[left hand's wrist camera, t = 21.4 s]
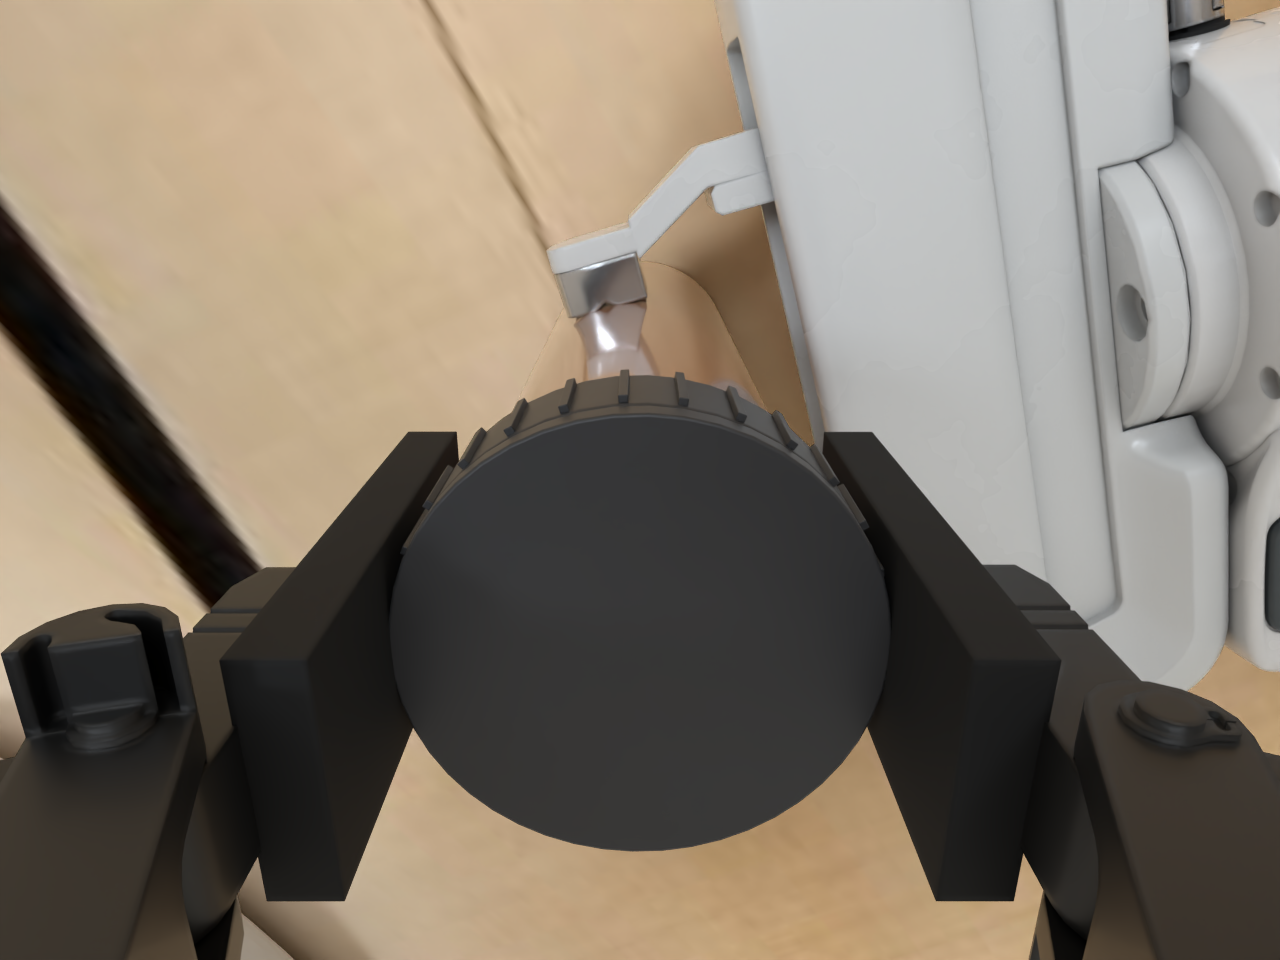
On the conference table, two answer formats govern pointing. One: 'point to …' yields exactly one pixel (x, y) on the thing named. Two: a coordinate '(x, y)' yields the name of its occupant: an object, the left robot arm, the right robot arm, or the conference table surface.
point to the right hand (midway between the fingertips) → (602, 422)
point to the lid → (640, 616)
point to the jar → (645, 341)
